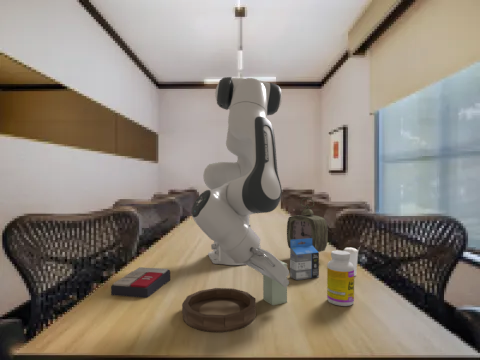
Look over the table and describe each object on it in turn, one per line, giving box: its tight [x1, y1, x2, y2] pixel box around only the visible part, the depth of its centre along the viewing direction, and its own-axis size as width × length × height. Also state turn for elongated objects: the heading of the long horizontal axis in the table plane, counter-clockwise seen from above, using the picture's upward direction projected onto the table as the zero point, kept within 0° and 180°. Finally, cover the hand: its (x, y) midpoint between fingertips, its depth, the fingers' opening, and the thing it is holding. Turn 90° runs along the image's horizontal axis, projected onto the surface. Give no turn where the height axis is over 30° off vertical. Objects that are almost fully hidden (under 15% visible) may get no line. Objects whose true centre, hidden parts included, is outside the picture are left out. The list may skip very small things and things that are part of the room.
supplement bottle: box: [326, 249, 355, 307], centre depth 76 cm, size 7×7×13 cm
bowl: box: [181, 287, 257, 333], centre depth 69 cm, size 17×17×3 cm
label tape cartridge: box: [289, 238, 320, 281], centre depth 96 cm, size 9×4×12 cm, turn 112°
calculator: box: [110, 266, 171, 299], centre depth 87 cm, size 11×4×15 cm
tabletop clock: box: [286, 197, 329, 253], centre depth 118 cm, size 14×9×25 cm, turn 38°
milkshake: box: [343, 245, 361, 277], centre depth 98 cm, size 4×5×10 cm
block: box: [262, 259, 288, 306], centre depth 77 cm, size 4×4×10 cm
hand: (275, 278), depth 77 cm, fingers open, 8 cm apart
